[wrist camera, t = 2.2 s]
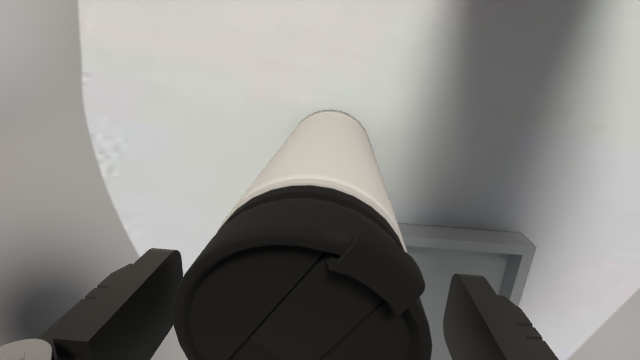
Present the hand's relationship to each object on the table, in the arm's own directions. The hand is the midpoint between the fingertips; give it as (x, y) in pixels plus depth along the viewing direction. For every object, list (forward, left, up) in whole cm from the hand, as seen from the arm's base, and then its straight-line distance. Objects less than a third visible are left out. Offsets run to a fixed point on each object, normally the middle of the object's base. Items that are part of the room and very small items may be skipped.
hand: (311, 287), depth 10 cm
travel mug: (0, 0, -17) cm, 17 cm away
